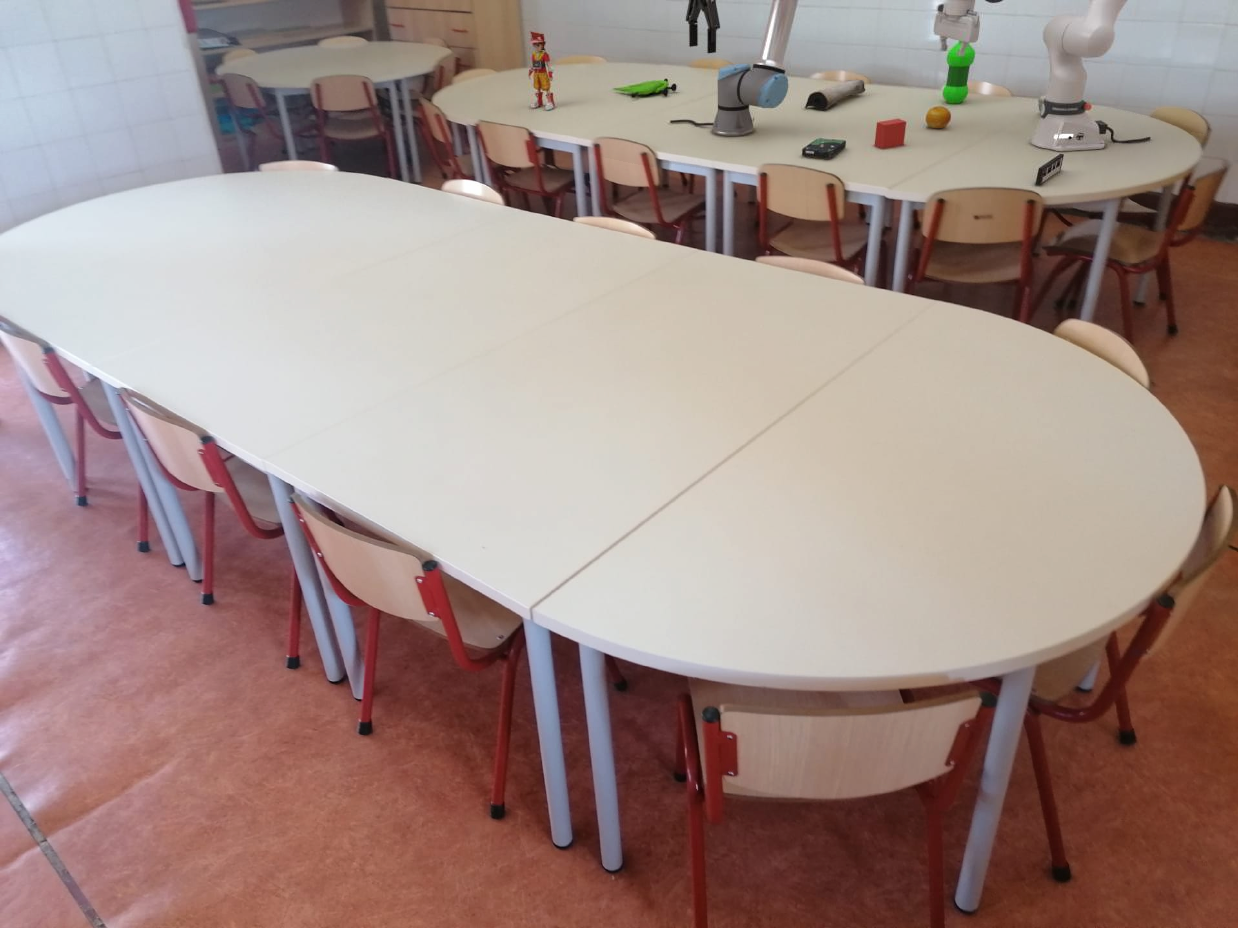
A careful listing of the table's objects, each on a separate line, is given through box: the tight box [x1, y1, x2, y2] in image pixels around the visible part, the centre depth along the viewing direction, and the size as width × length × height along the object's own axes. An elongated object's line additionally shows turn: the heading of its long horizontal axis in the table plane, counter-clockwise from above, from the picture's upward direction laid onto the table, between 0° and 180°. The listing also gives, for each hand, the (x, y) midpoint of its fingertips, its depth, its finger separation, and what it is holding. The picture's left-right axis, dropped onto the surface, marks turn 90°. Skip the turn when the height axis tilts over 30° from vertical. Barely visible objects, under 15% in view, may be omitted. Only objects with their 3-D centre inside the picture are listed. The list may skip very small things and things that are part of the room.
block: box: [873, 118, 907, 150], centre depth 309 cm, size 5×9×8 cm, turn 112°
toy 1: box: [527, 31, 556, 111], centre depth 374 cm, size 12×9×30 cm
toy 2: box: [612, 78, 677, 99], centre depth 396 cm, size 28×5×30 cm
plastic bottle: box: [942, 40, 976, 104], centre depth 348 cm, size 10×10×25 cm
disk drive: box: [801, 137, 847, 160], centre depth 307 cm, size 10×3×15 cm
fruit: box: [925, 105, 952, 129], centre depth 325 cm, size 8×8×8 cm
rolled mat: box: [804, 78, 866, 111], centre depth 363 cm, size 30×9×10 cm
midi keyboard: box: [1035, 153, 1065, 186], centre depth 273 cm, size 18×1×5 cm, turn 138°
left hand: (702, 49), depth 290 cm, fingers open, 13 cm apart
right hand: (952, 53), depth 308 cm, fingers open, 8 cm apart
